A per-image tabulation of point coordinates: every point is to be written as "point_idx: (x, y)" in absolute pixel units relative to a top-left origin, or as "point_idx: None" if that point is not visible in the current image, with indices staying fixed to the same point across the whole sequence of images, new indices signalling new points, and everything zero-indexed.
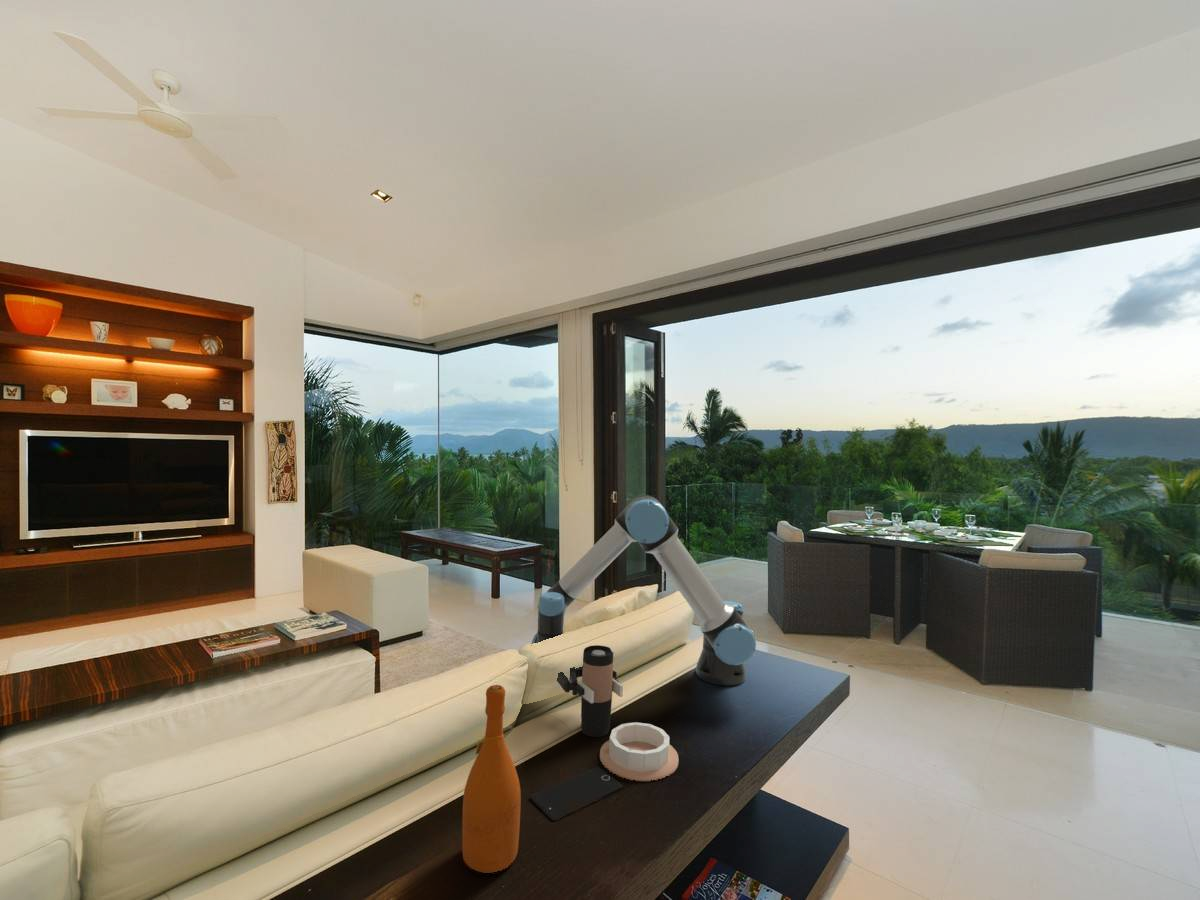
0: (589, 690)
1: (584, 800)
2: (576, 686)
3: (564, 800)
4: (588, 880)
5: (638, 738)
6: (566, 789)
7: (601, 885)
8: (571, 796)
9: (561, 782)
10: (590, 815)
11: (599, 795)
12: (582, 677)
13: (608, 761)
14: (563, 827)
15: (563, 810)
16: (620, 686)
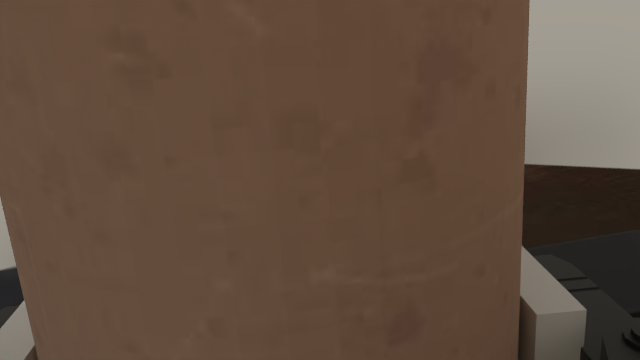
0: None
1: (545, 251)
2: (615, 308)
3: (614, 259)
4: (552, 171)
5: None
6: (610, 285)
7: (529, 167)
8: (590, 264)
9: (636, 308)
10: (530, 236)
11: None
12: (521, 239)
13: None
14: (609, 225)
15: (614, 239)
16: None
